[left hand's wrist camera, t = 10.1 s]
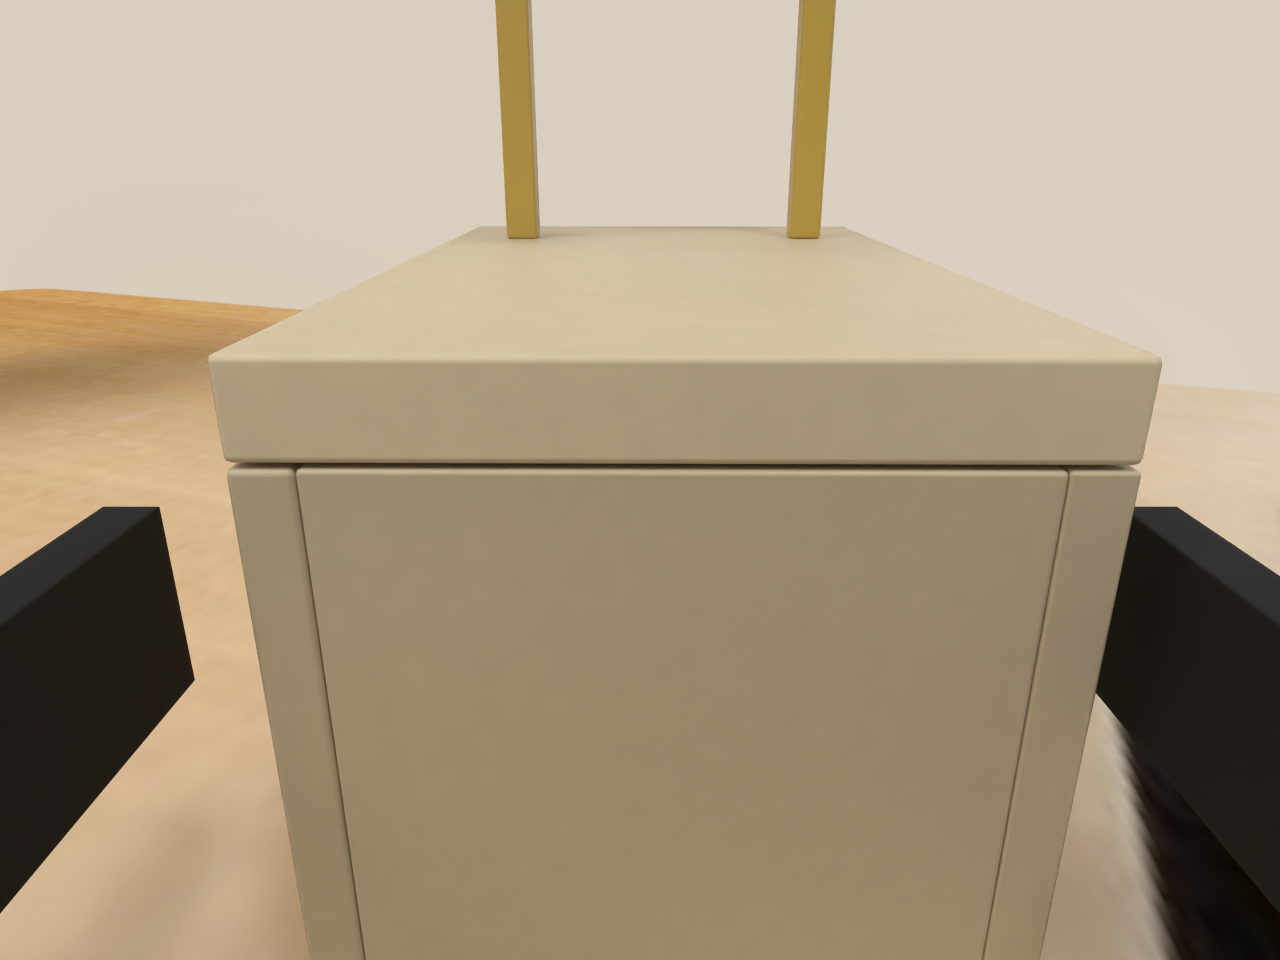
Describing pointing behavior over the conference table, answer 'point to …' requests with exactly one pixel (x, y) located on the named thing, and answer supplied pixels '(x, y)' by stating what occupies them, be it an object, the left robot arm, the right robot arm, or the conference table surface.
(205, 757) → the conference table surface
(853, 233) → the lid
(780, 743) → the chest
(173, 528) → the conference table surface
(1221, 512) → the conference table surface
